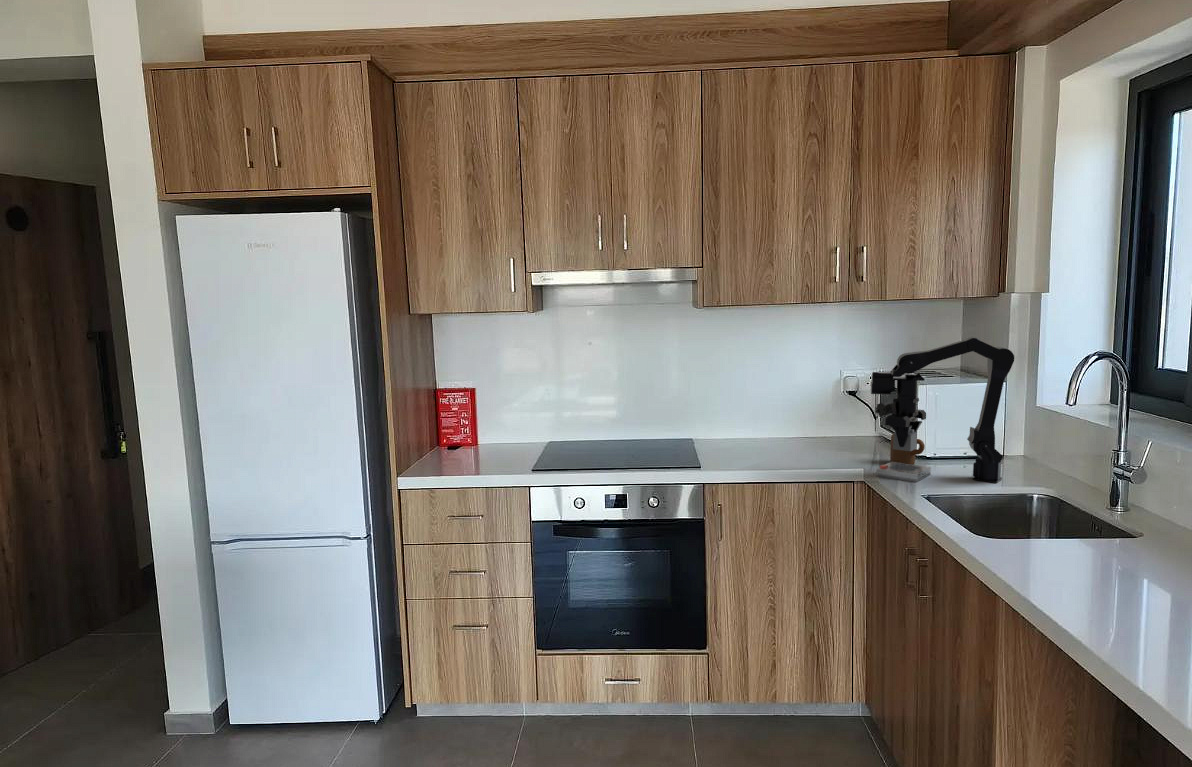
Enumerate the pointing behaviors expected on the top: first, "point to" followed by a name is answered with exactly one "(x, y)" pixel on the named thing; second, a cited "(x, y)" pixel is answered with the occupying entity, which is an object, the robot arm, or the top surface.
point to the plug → (910, 442)
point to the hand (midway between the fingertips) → (904, 445)
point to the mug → (905, 453)
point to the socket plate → (903, 471)
